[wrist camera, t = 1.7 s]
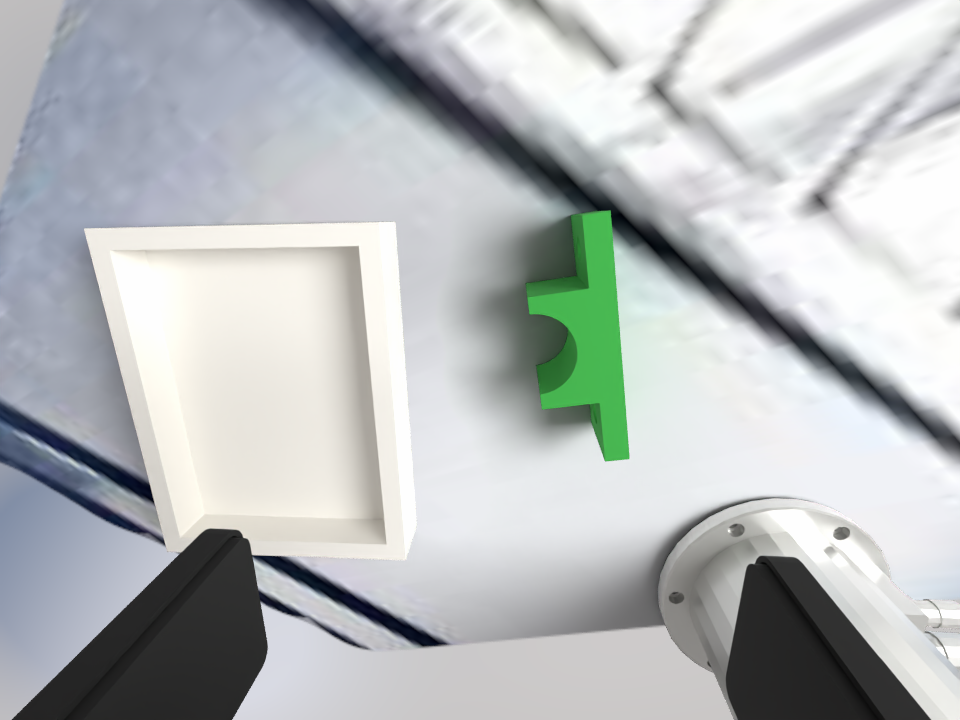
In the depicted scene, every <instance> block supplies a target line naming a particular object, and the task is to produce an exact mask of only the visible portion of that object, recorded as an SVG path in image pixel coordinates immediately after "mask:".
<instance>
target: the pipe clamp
mask: <svg viewBox="0 0 960 720" xmlns="http://www.w3.org/2000/svg"><path fill="white" fill-rule="evenodd" d="M571 223H572V233H573V243H574V253H575V263H576V274H577V276H572V277H565V278H559V279H552V280H545V281H538V282H532V283H526V291H527V299H528V307H529V315H530V314H541V315H546V316H550V317H553V318H555V319H557V320H558V321H560V322H561V323H563V324H564V325H565V326H566V327H567V329H568V333H567V339H566V342H565V345H564V347H563V349H562V350H561V351H560V353H559V354H558V355H557V356H556V357H555V358H553V359H552V360H550V361H549V362H546V363H544V364H541V365H536V366H537V374H538V383H539V391H540V398H541V406H542V410H543V409H552V408H560V407H569V406H577V405H586V404H590V414H591V423H592V426H593V428H594V431H595V434H596V437H597V440H598V443H599V445H600V448H601V451H602V454H603V457H604V460H605V461H614V460H624V459H629V446H628V433H627V420H626V406H625V393H624V380H623V367H622V354H621V341H620V328H619V315H618V302H617V289H616V276H615V263H614V250H613V237H612V224H611V211H594V212H587V213H581V214H575V215H571Z"/></svg>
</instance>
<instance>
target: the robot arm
mask: <svg viewBox="0 0 960 720" xmlns="http://www.w3.org/2000/svg"><path fill="white" fill-rule="evenodd" d="M658 600H659V607H660V611H661V614H662V617H663V620H664V623H665V626H666V628H667V630H668V632H669V634H670V636H671V639H672V640H673V641H674V642H675V644H676V645H677V646H678V647H679V649H680V650H681V651H682V652H683V653H684V654H685V655H686V656H688V657H689V658H690V659H691V660H692V661H694V662H695V663H696V664H698V665H700V666H701V667H703V668H705V669H707V670H708V671H711V672H713V673H714V674H715V677H716V679H717V681H718V684H719V686H720V688H721V691H722V693H723V695H724V698H725V700H726V702H727V704H728V707H729V709H730V712H731V714H732V716H733V719H734V720H960V633H955V632H933V631H925V629H926V626H931V627H933V628H946V629H960V604H959V603H957V602H955V601H954V600H931V599H924V600H913V599H912V598H911V597H909V596H907V595H906V594H905V593H904V592H902V591H901V590H900V589H899V588H898V587H897V586H896V585H895V584H894V583H893V582H892V581H891V575H890V569H889V565H888V563H887V561H886V559H885V556H884V554H883V552H882V550H881V549H880V548H879V546H878V545H877V544H876V543H875V541H874V540H873V539H872V538H871V536H869V535H868V534H867V533H866V532H865V531H864V530H863V529H862V528H861V527H859V526H858V525H857V524H856V523H855V522H854V521H853V520H851V519H849V518H848V517H846V516H845V515H843V514H841V513H840V512H838V511H837V510H834V509H831V508H829V507H826V506H824V505H821V504H818V503H814V502H809V501H804V500H799V499H779V498H772V499H764V500H757V501H750V502H747V503H743V504H740V505H736V506H733V507H729V508H727V509H725V510H723V511H721V512H719V513H716V514H714V515H712V516H710V517H708V518H707V519H705V520H704V521H702V522H701V523H700V524H698V525H697V526H695V527H694V528H692V529H691V530H690V531H689V532H688V533H687V534H686V535H685V536H684V537H683V538H682V539H681V540H680V541H679V542H678V543H677V544H676V546H675V547H674V549H673V550H672V552H671V553H670V555H669V556H668V557H667V560H666V562H665V564H664V567H663V569H662V572H661V574H660V580H659V586H658ZM267 648H268V646H267V638H266V632H265V627H264V621H263V615H262V609H261V604H260V598H259V592H258V586H257V581H256V575H255V569H254V563H253V558H252V552H251V546H250V542H249V540H248V539H247V538H243V535H242V533H241V532H240V531H239V530H233V529H213V528H210V529H206V530H204V531H203V532H202V533H201V534H200V535H199V536H198V537H197V538H196V539H195V540H194V541H193V542H192V543H191V544H189V545H188V546H187V547H186V548H185V549H184V550H183V551H182V552H181V553H180V554H179V555H178V556H177V557H176V558H175V559H174V560H173V561H172V562H171V563H170V564H169V565H168V566H167V567H166V568H165V569H164V570H163V571H162V572H161V573H160V574H159V575H158V576H157V577H156V578H155V579H154V580H153V581H152V582H151V583H150V584H149V585H148V586H147V587H146V588H145V589H144V590H143V591H142V592H141V593H140V594H139V595H138V596H137V597H136V598H135V599H134V600H133V601H132V602H131V603H130V604H129V605H128V606H127V607H126V608H125V609H124V610H123V611H122V612H121V613H120V614H118V615H117V616H116V618H114V619H113V621H111V622H110V623H109V624H108V625H107V626H106V627H105V628H104V629H103V630H102V631H101V632H100V633H99V634H98V635H97V636H96V637H95V638H94V639H93V640H92V641H91V642H90V643H89V644H88V645H87V646H86V647H85V648H84V649H83V650H82V651H81V652H80V653H79V654H78V655H77V656H76V657H75V658H74V659H73V660H72V661H71V662H70V663H69V664H68V665H67V666H66V667H65V668H64V669H63V670H62V671H61V672H60V673H59V674H58V675H57V676H56V677H55V678H54V679H53V680H52V681H51V682H50V683H48V684H47V685H46V687H44V688H43V690H41V691H40V692H39V693H38V694H37V695H36V696H35V697H34V698H33V699H32V700H31V701H30V702H29V703H28V704H27V705H26V706H25V707H24V708H23V709H22V710H21V711H20V712H19V713H18V714H17V715H16V716H15V717H14V718H13V719H12V720H232V719H233V717H234V716H235V714H236V712H237V710H238V709H239V707H240V705H241V703H242V702H243V700H244V698H245V696H246V695H247V693H248V691H249V689H250V688H251V686H252V684H253V682H254V681H255V679H256V677H257V675H258V674H259V672H260V670H261V669H262V667H263V664H264V662H265V659H266V655H267Z"/></svg>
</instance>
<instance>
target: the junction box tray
mask: <svg viewBox="0 0 960 720" xmlns="http://www.w3.org/2000/svg"><path fill="white" fill-rule="evenodd" d="M84 230H85V234H86V238H87V242H88V246H89V250H90V254H91V258H92V262H93V265H94V269H95V273H96V277H97V281H98V285H99V289H100V293H101V297H102V300H103V304H104V308H105V312H106V316H107V320H108V324H109V328H110V331H111V335H112V339H113V343H114V347H115V351H116V355H117V359H118V363H119V366H120V370H121V374H122V378H123V382H124V386H125V390H126V394H127V397H128V401H129V405H130V409H131V413H132V417H133V421H134V425H135V429H136V432H137V436H138V440H139V444H140V448H141V452H142V456H143V460H144V463H145V467H146V471H147V475H148V479H149V483H150V487H151V491H152V495H153V498H154V502H155V506H156V510H157V514H158V518H159V522H160V526H161V529H162V533H163V537H164V541H165V545H166V549H167V552H182V551H183V550H184V549H185V548H186V547H187V546H188V545H189V544H191V543H192V542H193V541H194V540H195V539H196V538H197V537H198V536H199V535H200V534H201V533H202V532H203V531H204V530H206V529H210V528H213V529H233V530H239V531H240V532H241V533H242V535H243V538H247V539H248V540H249V542H250V546H251V552H252V555H269V556H297V557H324V558H352V559H380V560H406V558H407V555H408V552H409V549H410V546H411V543H412V540H413V536H414V533H415V530H416V527H417V523H416V509H415V494H414V480H413V466H412V452H411V437H410V423H409V409H408V395H407V381H406V366H405V352H404V338H403V324H402V310H401V295H400V281H399V267H398V253H397V239H396V224H395V222H353V223H305V224H257V225H209V226H162V227H121V228H89V229H84Z"/></svg>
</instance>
